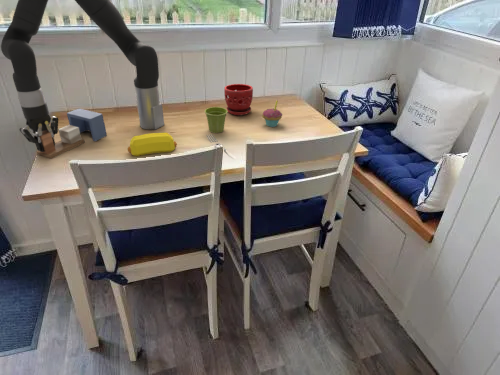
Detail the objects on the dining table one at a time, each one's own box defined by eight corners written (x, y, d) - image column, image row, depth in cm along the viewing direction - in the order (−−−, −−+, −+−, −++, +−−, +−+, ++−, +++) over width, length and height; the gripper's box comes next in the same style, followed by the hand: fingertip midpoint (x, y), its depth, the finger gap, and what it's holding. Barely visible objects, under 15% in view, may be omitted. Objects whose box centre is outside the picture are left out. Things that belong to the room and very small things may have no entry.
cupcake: (284, 123, 161) (286, 97, 155) (277, 130, 155) (278, 102, 148) (266, 119, 164) (267, 93, 158) (258, 126, 158) (259, 99, 151)
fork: (234, 164, 129) (234, 159, 128) (205, 138, 146) (205, 134, 145) (242, 162, 130) (242, 157, 130) (212, 137, 148) (212, 133, 147)
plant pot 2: (257, 110, 174) (258, 86, 167) (242, 119, 164) (242, 93, 158) (234, 105, 180) (234, 81, 173) (219, 113, 170) (218, 87, 164)
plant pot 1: (231, 128, 155) (230, 108, 151) (222, 136, 148) (222, 116, 143) (211, 124, 158) (210, 105, 153) (201, 132, 150) (200, 113, 146)
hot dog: (127, 150, 136) (128, 159, 130) (124, 133, 132) (125, 142, 126) (175, 144, 141) (179, 153, 135) (174, 128, 137) (177, 136, 131)
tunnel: (108, 134, 146) (104, 112, 142) (95, 141, 141) (90, 118, 136) (86, 128, 151) (81, 107, 146) (72, 134, 145) (66, 113, 140)
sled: (84, 142, 140) (79, 122, 135) (50, 158, 128) (44, 137, 124) (71, 139, 142) (66, 119, 138) (37, 154, 131) (30, 133, 126)
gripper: (21, 111, 114) (37, 159, 123) (58, 98, 125) (70, 143, 134) (5, 107, 116) (22, 154, 126) (43, 94, 127) (56, 139, 137)
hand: (47, 148), depth 130 cm, fingers closed on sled, 3 cm apart
